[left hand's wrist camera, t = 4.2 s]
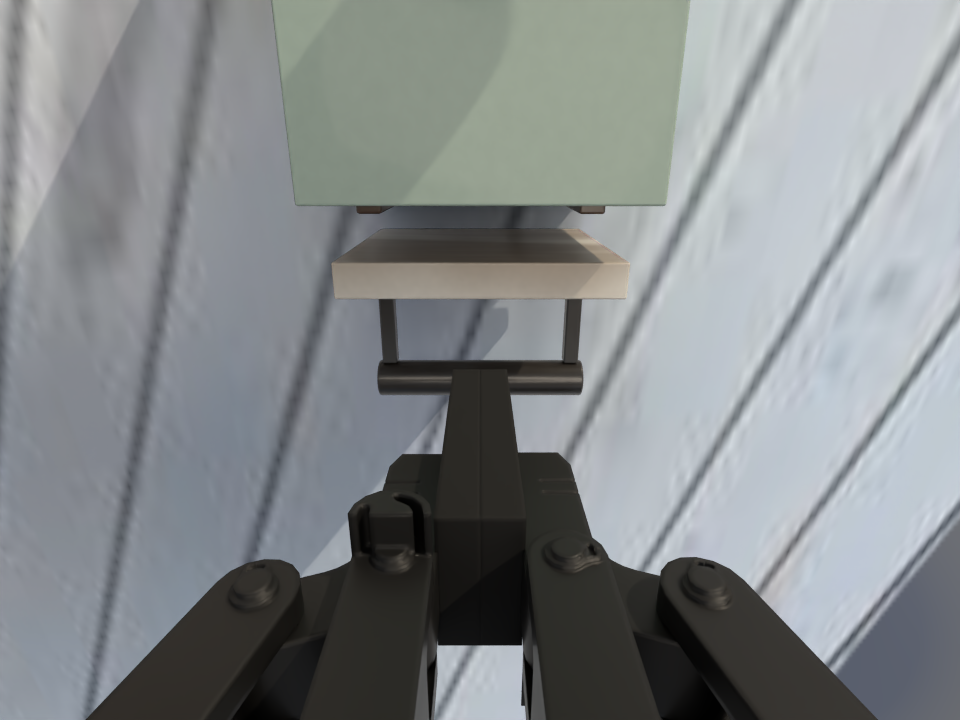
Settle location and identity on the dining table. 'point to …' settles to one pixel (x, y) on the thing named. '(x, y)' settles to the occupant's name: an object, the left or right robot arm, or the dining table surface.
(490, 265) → the drawer
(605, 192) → the cabinet
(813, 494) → the dining table surface
